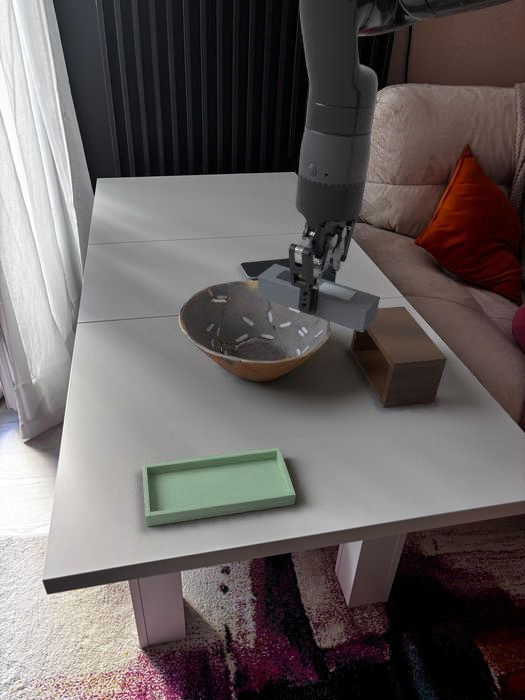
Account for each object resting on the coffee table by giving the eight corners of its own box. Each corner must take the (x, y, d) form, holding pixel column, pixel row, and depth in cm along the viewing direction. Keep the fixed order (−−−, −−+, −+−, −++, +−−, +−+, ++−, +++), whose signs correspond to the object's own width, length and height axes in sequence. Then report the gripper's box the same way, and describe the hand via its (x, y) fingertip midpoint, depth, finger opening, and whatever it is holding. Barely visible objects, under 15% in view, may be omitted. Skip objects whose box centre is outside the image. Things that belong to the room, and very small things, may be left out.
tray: (278, 457, 80) (279, 447, 78) (294, 504, 73) (295, 494, 72) (143, 474, 76) (142, 464, 74) (146, 526, 69) (145, 516, 68)
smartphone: (311, 270, 126) (248, 277, 122) (310, 273, 127) (248, 280, 122) (299, 256, 132) (239, 262, 127) (299, 259, 132) (239, 265, 128)
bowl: (157, 347, 100) (154, 299, 94) (270, 312, 112) (273, 268, 106) (228, 431, 83) (229, 379, 78) (352, 380, 95) (361, 332, 89)
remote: (376, 317, 70) (380, 295, 68) (362, 333, 67) (367, 310, 65) (273, 283, 76) (275, 262, 74) (256, 296, 72) (258, 274, 71)
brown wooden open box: (433, 402, 92) (447, 358, 86) (383, 407, 90) (394, 363, 85) (394, 347, 104) (404, 306, 99) (349, 351, 102) (357, 309, 97)
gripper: (336, 195, 54) (317, 339, 64) (387, 162, 65) (364, 290, 74) (270, 179, 57) (262, 318, 67) (329, 149, 67) (314, 274, 77)
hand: (315, 303), depth 71 cm, fingers closed on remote, 4 cm apart
